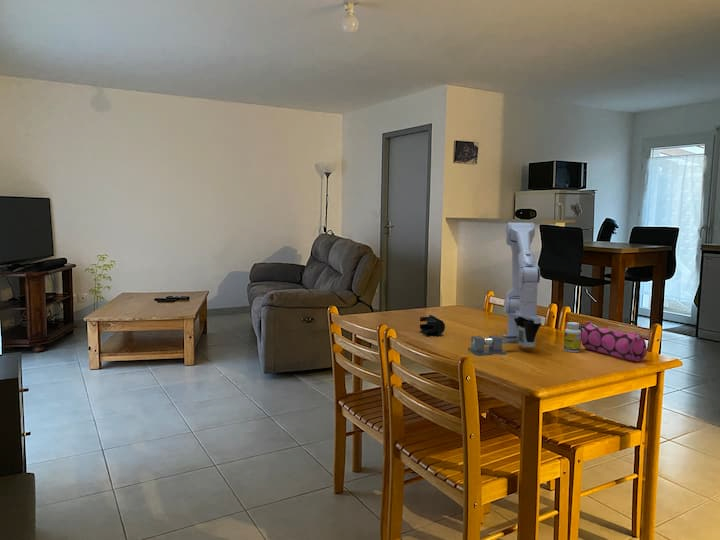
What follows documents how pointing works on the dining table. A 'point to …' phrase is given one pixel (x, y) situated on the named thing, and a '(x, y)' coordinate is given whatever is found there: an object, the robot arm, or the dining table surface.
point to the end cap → (432, 326)
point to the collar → (524, 337)
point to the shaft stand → (490, 344)
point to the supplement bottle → (572, 337)
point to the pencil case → (614, 342)
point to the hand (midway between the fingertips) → (526, 340)
